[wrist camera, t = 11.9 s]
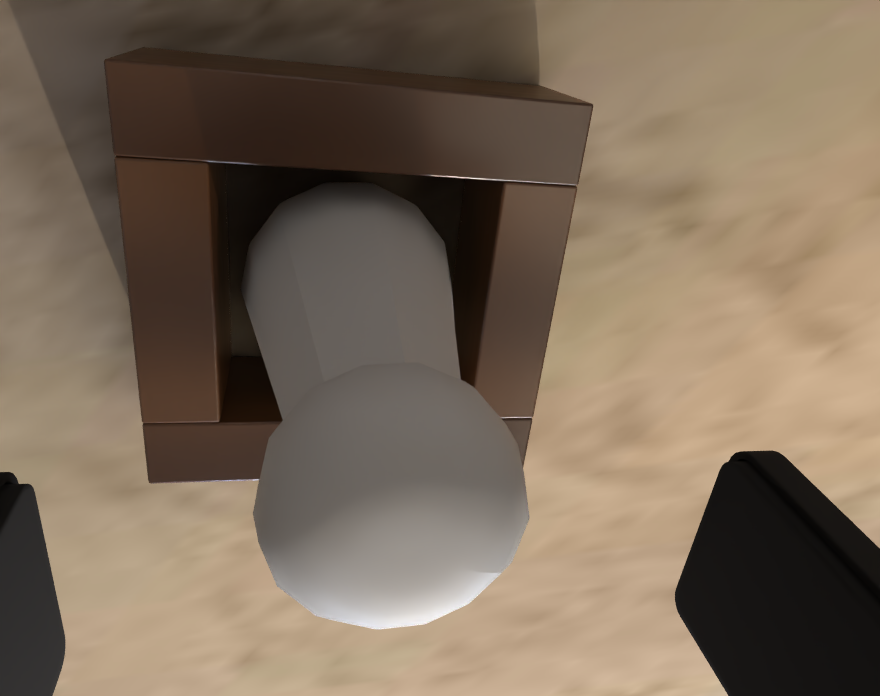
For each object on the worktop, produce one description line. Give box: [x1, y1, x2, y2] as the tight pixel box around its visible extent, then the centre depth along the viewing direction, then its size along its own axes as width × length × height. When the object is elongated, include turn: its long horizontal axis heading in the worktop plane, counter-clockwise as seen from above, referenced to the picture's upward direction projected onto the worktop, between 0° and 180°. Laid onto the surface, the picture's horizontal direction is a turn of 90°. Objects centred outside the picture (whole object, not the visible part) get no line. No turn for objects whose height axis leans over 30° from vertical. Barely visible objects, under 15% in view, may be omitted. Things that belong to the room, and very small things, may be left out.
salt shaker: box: [241, 183, 529, 629], centre depth 15 cm, size 6×6×13 cm
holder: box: [104, 47, 593, 483], centre depth 19 cm, size 11×11×4 cm
